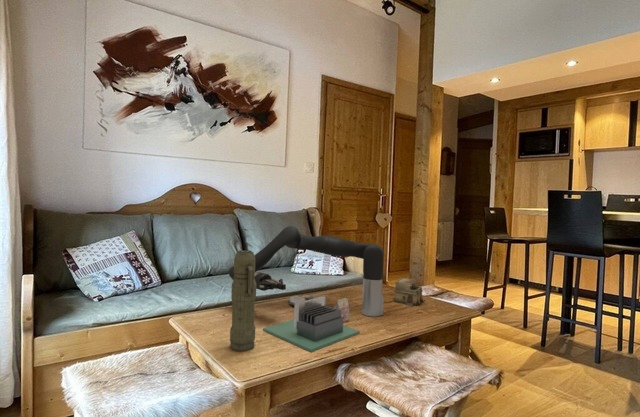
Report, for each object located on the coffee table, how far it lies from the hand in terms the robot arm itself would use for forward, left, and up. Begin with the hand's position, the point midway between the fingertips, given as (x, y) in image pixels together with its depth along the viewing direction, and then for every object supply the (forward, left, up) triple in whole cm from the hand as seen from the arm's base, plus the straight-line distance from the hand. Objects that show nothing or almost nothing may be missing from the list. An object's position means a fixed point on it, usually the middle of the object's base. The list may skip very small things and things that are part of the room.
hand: (284, 287), depth 158 cm
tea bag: (-27, -2, -17) cm, 32 cm away
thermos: (+18, +18, -17) cm, 31 cm away
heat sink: (-10, +9, -17) cm, 21 cm away
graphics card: (-16, -30, -17) cm, 38 cm away
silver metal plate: (-10, +8, -14) cm, 18 cm away
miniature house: (-73, -25, -17) cm, 79 cm away
